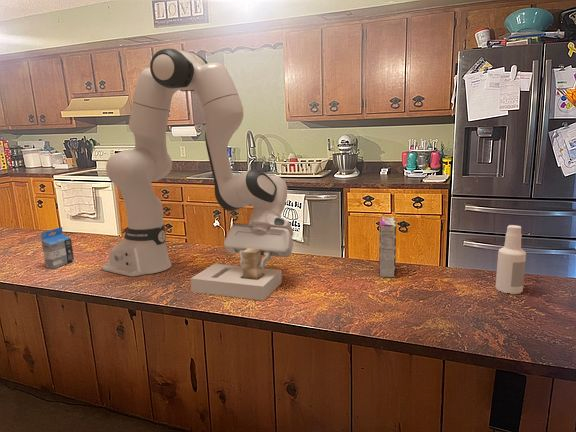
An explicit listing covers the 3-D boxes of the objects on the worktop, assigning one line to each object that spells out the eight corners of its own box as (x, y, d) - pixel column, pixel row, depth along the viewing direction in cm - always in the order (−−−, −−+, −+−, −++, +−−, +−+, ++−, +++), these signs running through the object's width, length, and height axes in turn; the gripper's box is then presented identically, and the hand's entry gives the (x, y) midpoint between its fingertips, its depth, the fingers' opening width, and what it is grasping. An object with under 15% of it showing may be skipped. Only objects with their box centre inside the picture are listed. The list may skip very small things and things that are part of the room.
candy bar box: (378, 266, 147) (379, 216, 144) (394, 266, 146) (395, 217, 143) (378, 277, 136) (379, 224, 133) (395, 278, 135) (397, 224, 132)
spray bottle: (524, 295, 120) (530, 230, 116) (496, 292, 122) (501, 228, 119) (521, 287, 126) (526, 224, 123) (494, 284, 129) (499, 222, 125)
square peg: (243, 285, 127) (242, 251, 125) (249, 281, 130) (248, 247, 128) (256, 287, 125) (255, 252, 123) (262, 282, 129) (261, 249, 127)
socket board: (191, 291, 127) (190, 278, 126) (215, 275, 140) (214, 263, 139) (263, 300, 120) (263, 286, 119) (281, 283, 133) (281, 270, 132)
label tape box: (53, 269, 149) (49, 233, 147) (44, 268, 151) (40, 232, 148) (74, 261, 157) (70, 227, 155) (65, 260, 159) (61, 226, 156)
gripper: (228, 217, 134) (214, 258, 127) (293, 221, 127) (282, 264, 120) (235, 228, 139) (222, 268, 132) (298, 233, 132) (288, 275, 125)
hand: (251, 266), depth 126 cm, fingers closed on square peg, 4 cm apart
